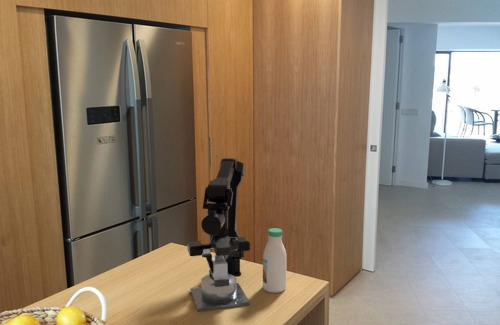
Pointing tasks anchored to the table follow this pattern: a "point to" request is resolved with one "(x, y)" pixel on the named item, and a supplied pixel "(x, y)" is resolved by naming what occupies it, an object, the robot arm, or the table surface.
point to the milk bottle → (274, 263)
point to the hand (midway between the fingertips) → (219, 272)
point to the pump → (219, 268)
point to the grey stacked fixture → (218, 294)
